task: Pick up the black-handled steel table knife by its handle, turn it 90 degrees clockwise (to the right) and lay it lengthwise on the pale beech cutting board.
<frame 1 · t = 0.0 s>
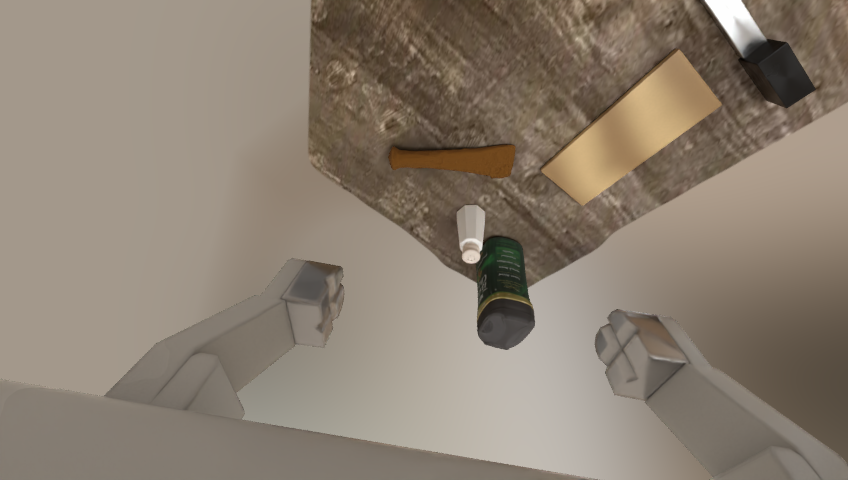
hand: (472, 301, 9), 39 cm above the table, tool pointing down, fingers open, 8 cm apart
knife: (742, 36, 34), on the table
primitive tool: (453, 154, 47), on the table
cutting board: (620, 139, 43), on the table
pepper shaker: (470, 215, 54), on the table
coffee jar: (497, 253, 59), on the table
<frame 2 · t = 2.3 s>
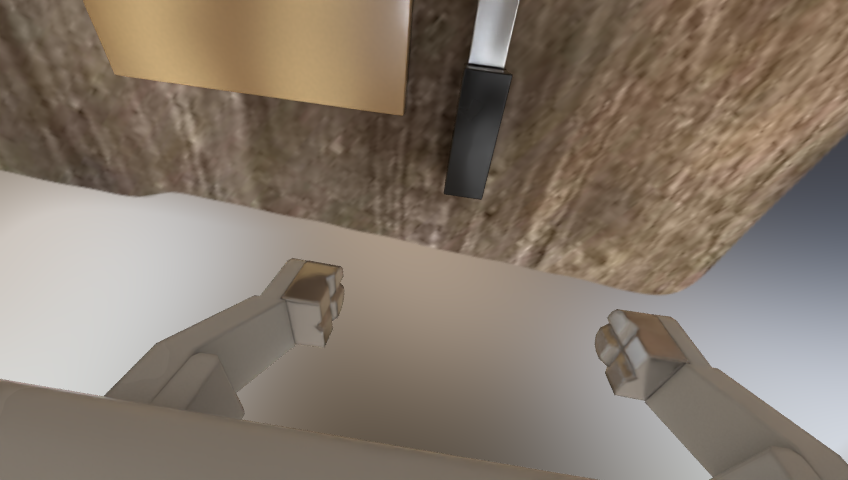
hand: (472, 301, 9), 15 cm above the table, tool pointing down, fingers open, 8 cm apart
knife: (492, 26, 17), on the table
cutting board: (246, 2, 18), on the table
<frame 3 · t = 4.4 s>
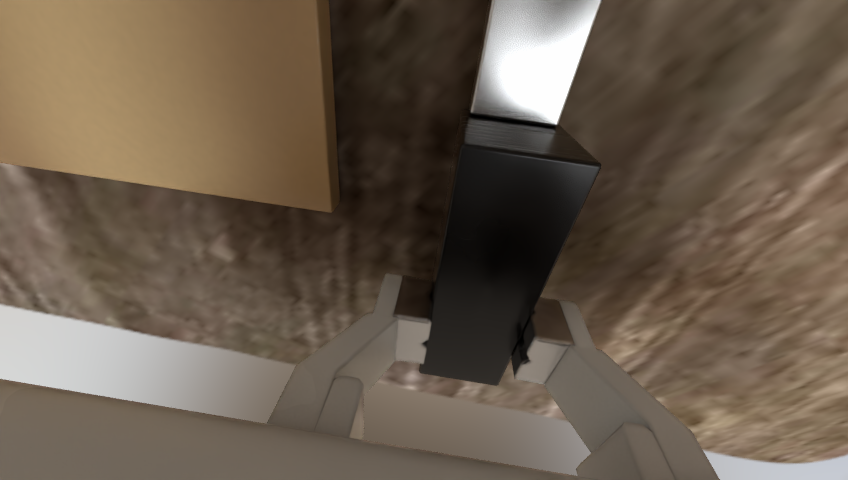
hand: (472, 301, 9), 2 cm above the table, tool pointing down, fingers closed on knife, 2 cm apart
knife: (533, 23, 7), on the table, touching gripper
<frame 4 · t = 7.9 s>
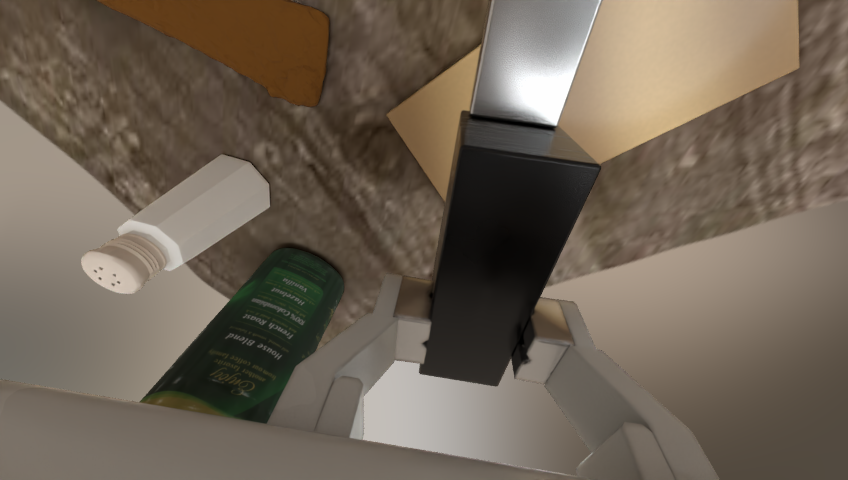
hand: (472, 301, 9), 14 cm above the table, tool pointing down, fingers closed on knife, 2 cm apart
knife: (533, 24, 7), point 12 cm above the table, touching gripper
cutting board: (568, 91, 18), on the table
pepper shaker: (241, 185, 24), on the table
coffee jar: (302, 281, 30), on the table
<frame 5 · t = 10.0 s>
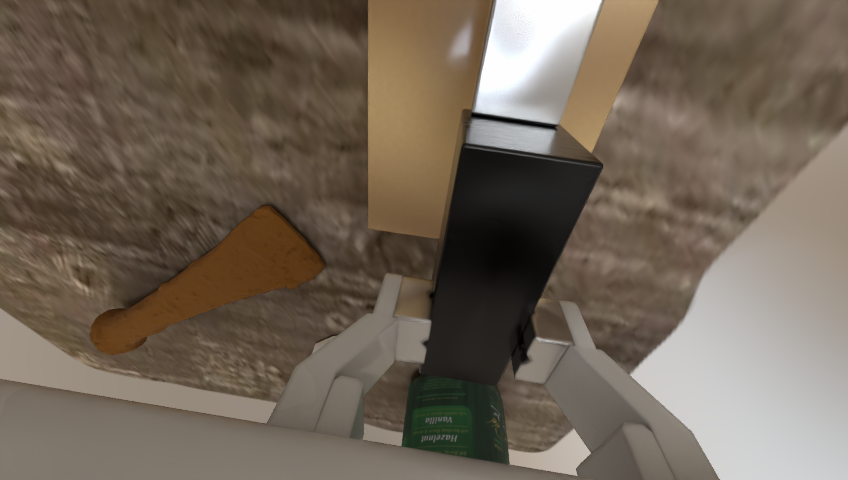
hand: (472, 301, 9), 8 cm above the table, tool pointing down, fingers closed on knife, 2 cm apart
knife: (535, 22, 7), point 6 cm above the table, touching gripper
primitive tool: (208, 274, 22), on the table
cutting board: (501, 19, 11), on the table
coffee jar: (456, 392, 27), on the table
when the fingers open (3 cm above the table, at t = 11.3 s): knife stays where it is, resting on cutting board.
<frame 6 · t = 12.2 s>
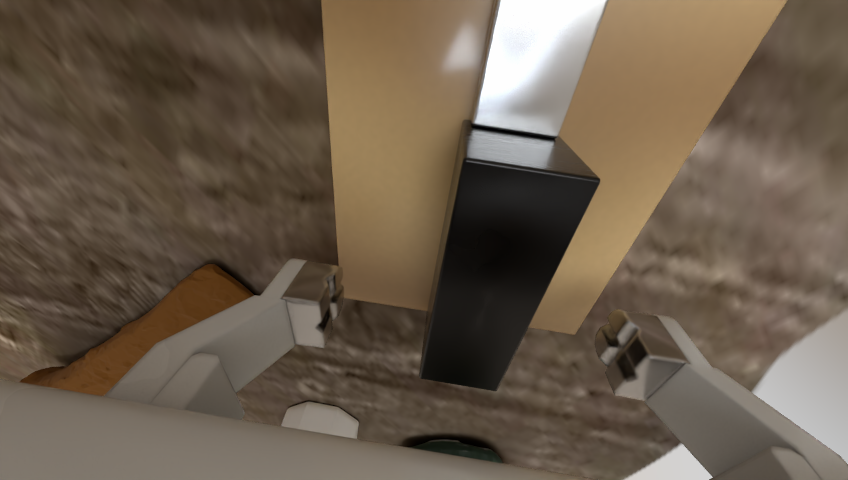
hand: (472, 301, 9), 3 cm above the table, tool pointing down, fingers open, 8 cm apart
knife: (534, 37, 7), point 1 cm above the table, touching cutting board
primitive tool: (152, 333, 18), on the table
cutting board: (526, 27, 8), on the table
pepper shaker: (325, 417, 21), on the table
coffee jar: (456, 460, 23), on the table
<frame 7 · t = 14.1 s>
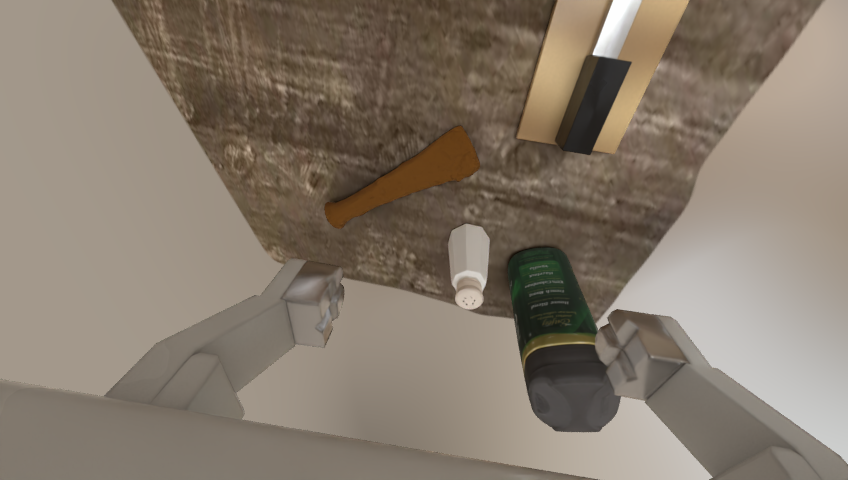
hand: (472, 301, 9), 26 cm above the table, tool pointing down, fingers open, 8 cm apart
knife: (612, 29, 25), point 1 cm above the table, touching cutting board
primitive tool: (399, 177, 36), on the table
cutting board: (608, 27, 26), on the table
pepper shaker: (468, 239, 39), on the table
coffee jar: (536, 272, 41), on the table
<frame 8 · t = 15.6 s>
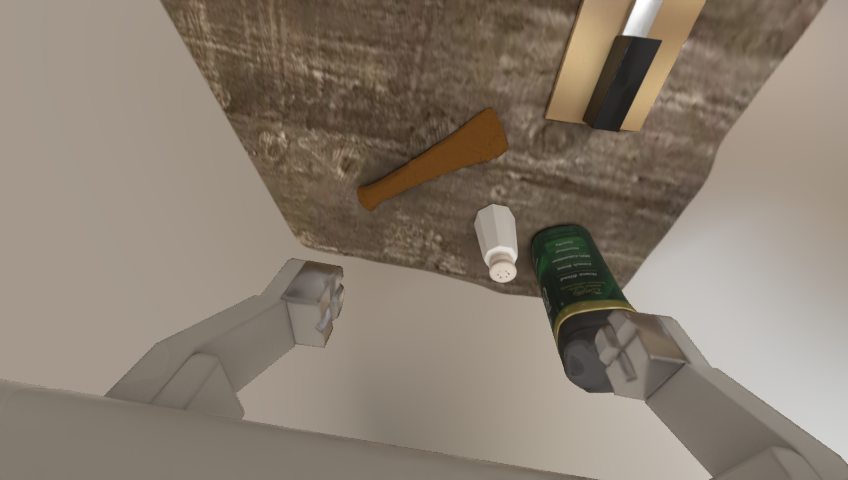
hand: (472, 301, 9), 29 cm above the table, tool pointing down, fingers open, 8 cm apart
knife: (641, 10, 26), point 1 cm above the table, touching cutting board
primitive tool: (428, 160, 37), on the table
cutting board: (636, 8, 27), on the table
pepper shaker: (493, 220, 41), on the table
coffee jar: (558, 251, 42), on the table
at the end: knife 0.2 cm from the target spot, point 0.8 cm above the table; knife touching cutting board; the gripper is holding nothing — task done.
